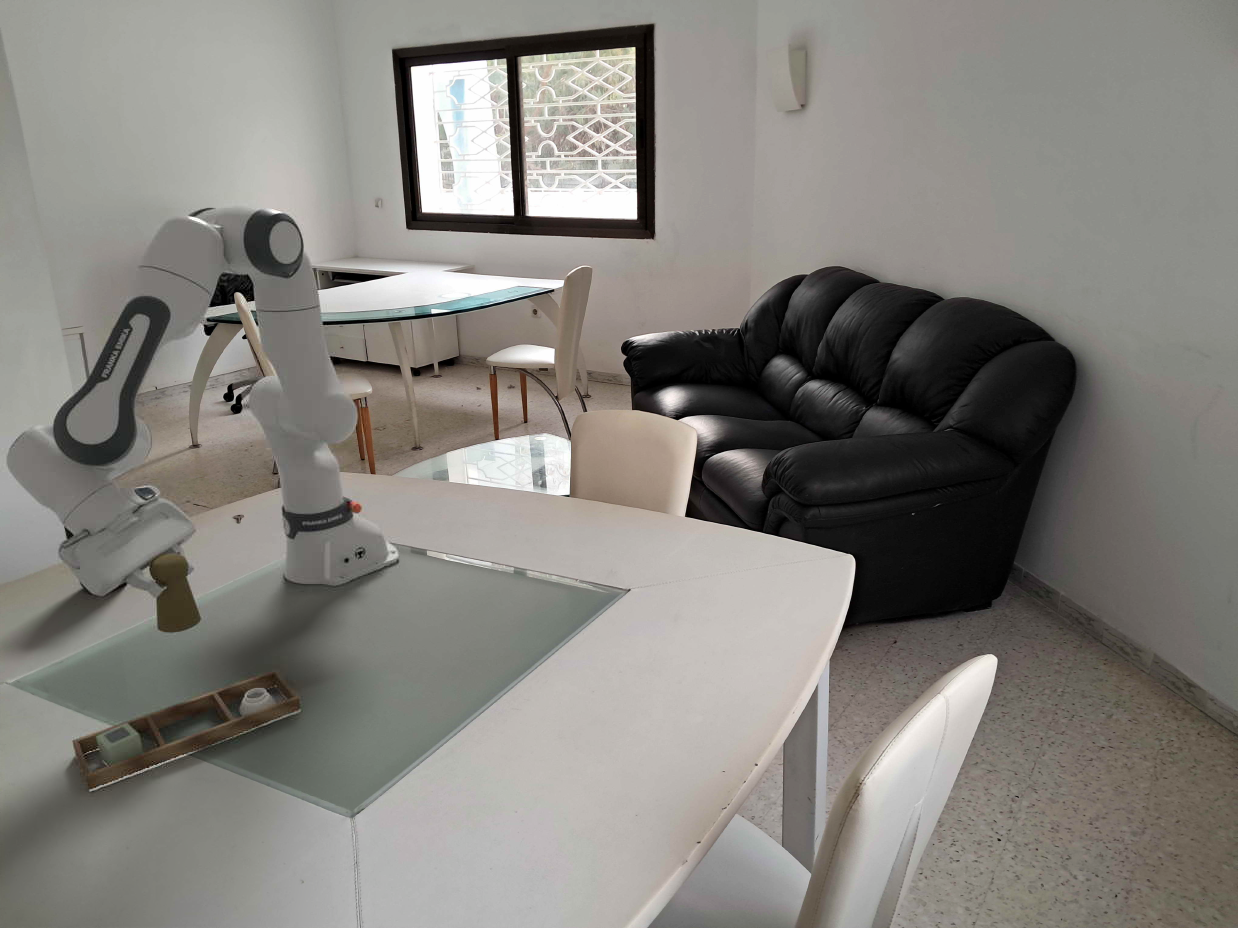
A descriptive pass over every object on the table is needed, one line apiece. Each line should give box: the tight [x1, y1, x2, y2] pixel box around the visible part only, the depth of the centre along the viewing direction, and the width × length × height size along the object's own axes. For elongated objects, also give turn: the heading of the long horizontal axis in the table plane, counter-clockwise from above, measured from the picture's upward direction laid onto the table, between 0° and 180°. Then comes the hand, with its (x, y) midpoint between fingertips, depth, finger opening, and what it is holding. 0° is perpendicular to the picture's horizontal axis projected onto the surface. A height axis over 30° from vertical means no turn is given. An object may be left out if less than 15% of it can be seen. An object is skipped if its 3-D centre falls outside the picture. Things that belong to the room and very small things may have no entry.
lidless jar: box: [238, 688, 277, 717], centre depth 131 cm, size 5×3×5 cm
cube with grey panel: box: [96, 723, 144, 766], centre depth 120 cm, size 4×4×4 cm
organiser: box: [72, 669, 302, 791], centre depth 125 cm, size 28×10×2 cm, turn 130°
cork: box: [148, 554, 202, 634], centre depth 132 cm, size 6×6×11 cm
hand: (175, 583), depth 131 cm, fingers closed on cork, 5 cm apart
